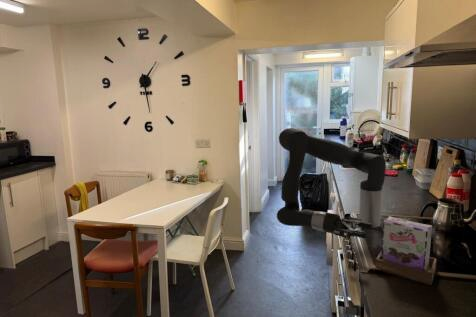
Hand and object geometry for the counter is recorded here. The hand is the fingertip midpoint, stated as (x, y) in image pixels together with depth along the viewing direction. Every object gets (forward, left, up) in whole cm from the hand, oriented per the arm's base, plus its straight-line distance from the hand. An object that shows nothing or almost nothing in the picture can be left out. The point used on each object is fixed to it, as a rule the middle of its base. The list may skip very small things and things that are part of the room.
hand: (368, 231), depth 117 cm
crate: (0, +12, -11) cm, 17 cm away
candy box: (0, +12, -11) cm, 16 cm away
